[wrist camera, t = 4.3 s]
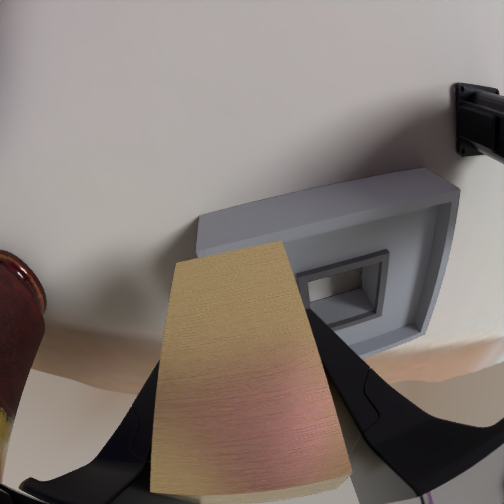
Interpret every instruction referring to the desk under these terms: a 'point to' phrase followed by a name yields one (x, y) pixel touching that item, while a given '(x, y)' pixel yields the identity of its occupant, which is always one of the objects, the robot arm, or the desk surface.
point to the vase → (17, 337)
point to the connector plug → (242, 387)
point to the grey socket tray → (355, 249)
